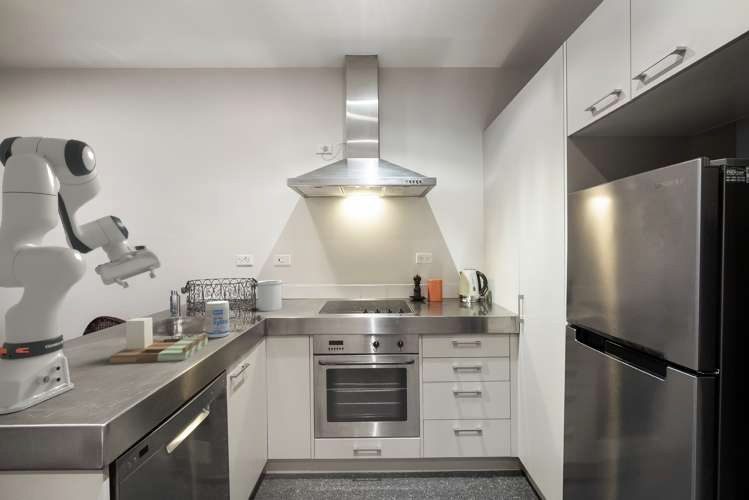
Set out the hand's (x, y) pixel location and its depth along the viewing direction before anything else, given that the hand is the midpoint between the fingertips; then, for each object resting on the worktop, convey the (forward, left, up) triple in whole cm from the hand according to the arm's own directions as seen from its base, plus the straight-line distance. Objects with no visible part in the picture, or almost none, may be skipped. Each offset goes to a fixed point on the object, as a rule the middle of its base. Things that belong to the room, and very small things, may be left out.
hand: (140, 281), depth 141 cm
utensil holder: (+85, -33, -26) cm, 95 cm away
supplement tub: (+18, -22, -26) cm, 39 cm away
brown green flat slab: (-6, -10, -26) cm, 28 cm away
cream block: (-6, -2, -23) cm, 24 cm away
